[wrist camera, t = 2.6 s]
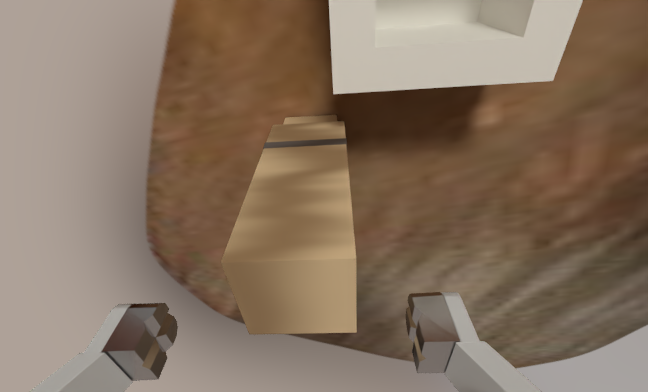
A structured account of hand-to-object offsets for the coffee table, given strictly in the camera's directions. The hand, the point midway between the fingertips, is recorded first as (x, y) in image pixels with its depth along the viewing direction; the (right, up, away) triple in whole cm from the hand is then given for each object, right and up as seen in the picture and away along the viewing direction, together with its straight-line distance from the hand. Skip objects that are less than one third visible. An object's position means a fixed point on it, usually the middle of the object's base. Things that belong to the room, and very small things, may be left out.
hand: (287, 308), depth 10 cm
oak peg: (0, +7, +9) cm, 12 cm away
